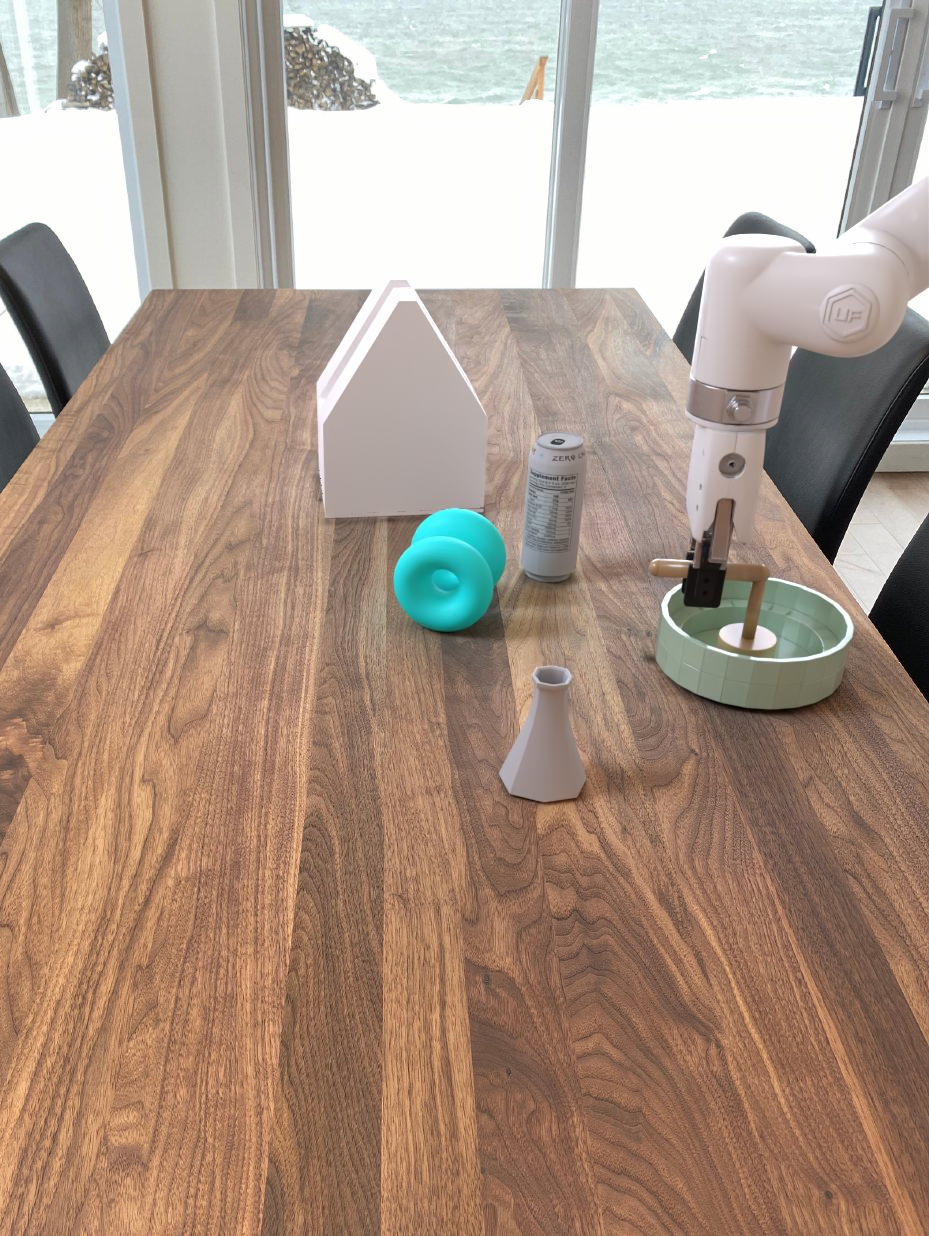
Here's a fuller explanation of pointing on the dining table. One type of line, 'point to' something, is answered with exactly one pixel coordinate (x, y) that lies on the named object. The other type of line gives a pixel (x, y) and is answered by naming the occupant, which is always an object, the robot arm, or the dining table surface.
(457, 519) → the turquoise spool
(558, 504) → the energy drink can
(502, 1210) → the dining table surface
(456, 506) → the milk carton
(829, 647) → the bowl
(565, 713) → the flask
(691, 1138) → the dining table surface
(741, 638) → the wooden hook stand
